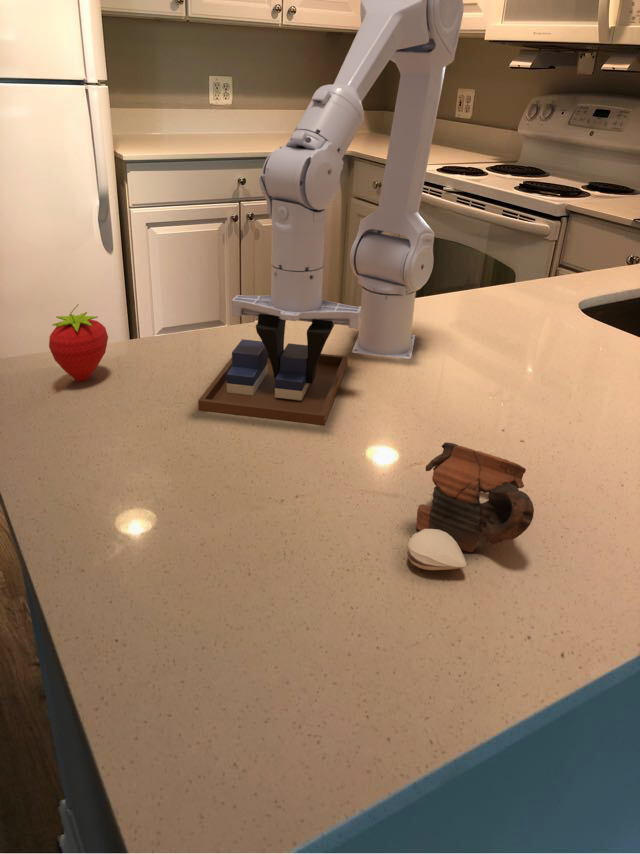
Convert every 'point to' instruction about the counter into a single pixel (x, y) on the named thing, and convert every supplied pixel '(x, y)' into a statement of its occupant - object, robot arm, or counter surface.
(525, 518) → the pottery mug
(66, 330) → the strawberry
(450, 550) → the white teardrop shell
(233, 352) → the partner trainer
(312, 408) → the brown serving tray
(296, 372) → the trainer
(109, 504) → the counter surface
